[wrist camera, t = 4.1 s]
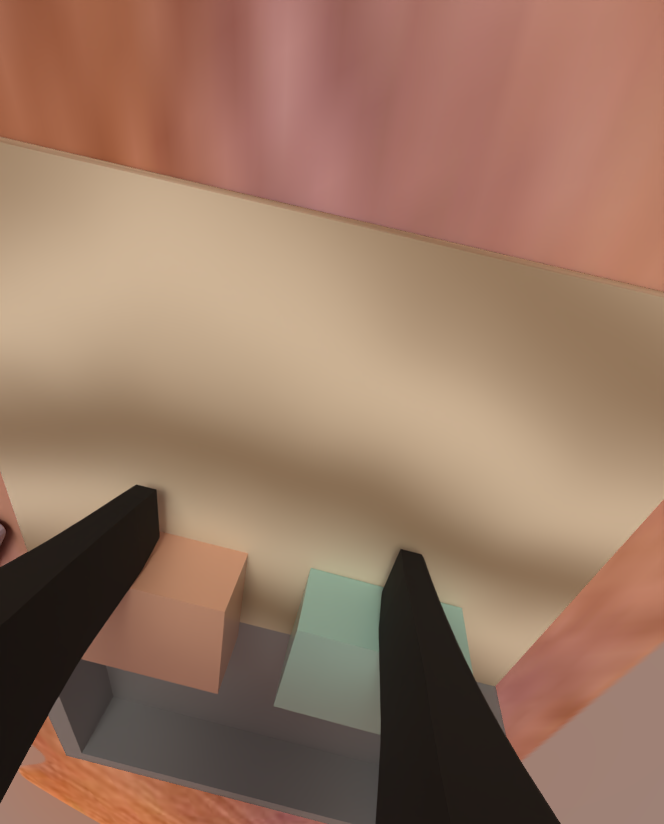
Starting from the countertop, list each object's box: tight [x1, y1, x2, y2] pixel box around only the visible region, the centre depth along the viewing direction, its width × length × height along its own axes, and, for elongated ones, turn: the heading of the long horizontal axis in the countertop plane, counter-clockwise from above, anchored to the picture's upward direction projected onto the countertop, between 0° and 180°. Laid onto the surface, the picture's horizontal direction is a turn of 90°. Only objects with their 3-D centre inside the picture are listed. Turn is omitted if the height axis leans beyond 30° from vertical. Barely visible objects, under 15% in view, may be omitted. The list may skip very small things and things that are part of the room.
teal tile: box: [273, 568, 473, 735], centre depth 12 cm, size 5×5×2 cm
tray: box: [48, 622, 506, 824], centre depth 18 cm, size 14×18×3 cm
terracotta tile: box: [81, 531, 248, 694], centre depth 13 cm, size 5×5×2 cm
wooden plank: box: [0, 137, 664, 686], centre depth 11 cm, size 14×18×2 cm
